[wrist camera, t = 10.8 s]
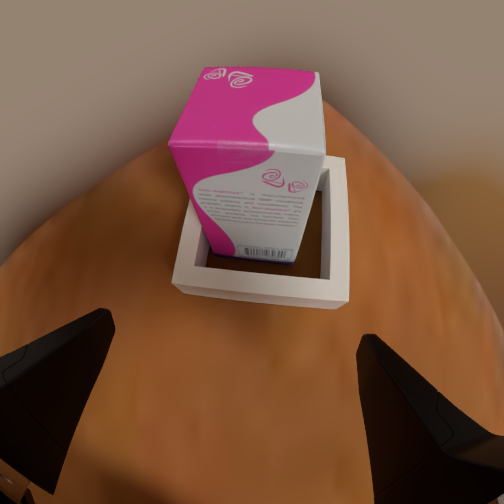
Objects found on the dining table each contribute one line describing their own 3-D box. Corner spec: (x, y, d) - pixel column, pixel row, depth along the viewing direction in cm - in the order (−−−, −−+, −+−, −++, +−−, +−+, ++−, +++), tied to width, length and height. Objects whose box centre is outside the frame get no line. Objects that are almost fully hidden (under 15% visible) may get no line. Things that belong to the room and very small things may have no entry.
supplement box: (299, 194, 21) (324, 69, 10) (294, 266, 19) (330, 161, 8) (226, 186, 22) (202, 62, 11) (211, 256, 20) (161, 149, 9)
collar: (335, 309, 18) (348, 301, 15) (184, 293, 19) (171, 283, 16) (335, 180, 22) (344, 158, 19) (209, 169, 22) (204, 145, 19)
